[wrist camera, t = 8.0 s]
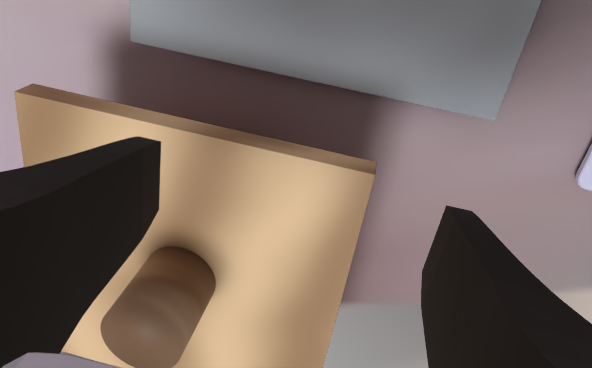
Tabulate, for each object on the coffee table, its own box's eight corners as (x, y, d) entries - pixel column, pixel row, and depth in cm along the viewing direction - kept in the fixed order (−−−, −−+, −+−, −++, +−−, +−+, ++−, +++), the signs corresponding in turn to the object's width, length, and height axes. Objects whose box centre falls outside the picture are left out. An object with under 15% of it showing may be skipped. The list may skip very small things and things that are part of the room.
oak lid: (376, 162, 17) (368, 232, 13) (312, 401, 24) (293, 496, 20) (32, 83, 18) (-68, 127, 14) (59, 331, 25) (-5, 408, 21)
